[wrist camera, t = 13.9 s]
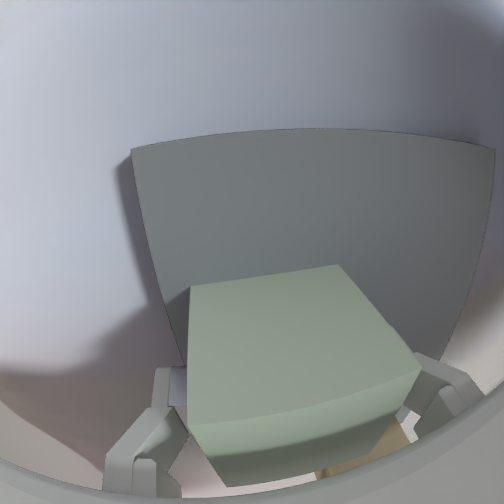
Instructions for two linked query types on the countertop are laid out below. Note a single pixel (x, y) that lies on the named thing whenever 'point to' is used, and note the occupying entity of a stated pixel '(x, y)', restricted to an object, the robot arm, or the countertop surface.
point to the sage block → (290, 374)
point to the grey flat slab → (321, 218)
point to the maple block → (386, 445)
